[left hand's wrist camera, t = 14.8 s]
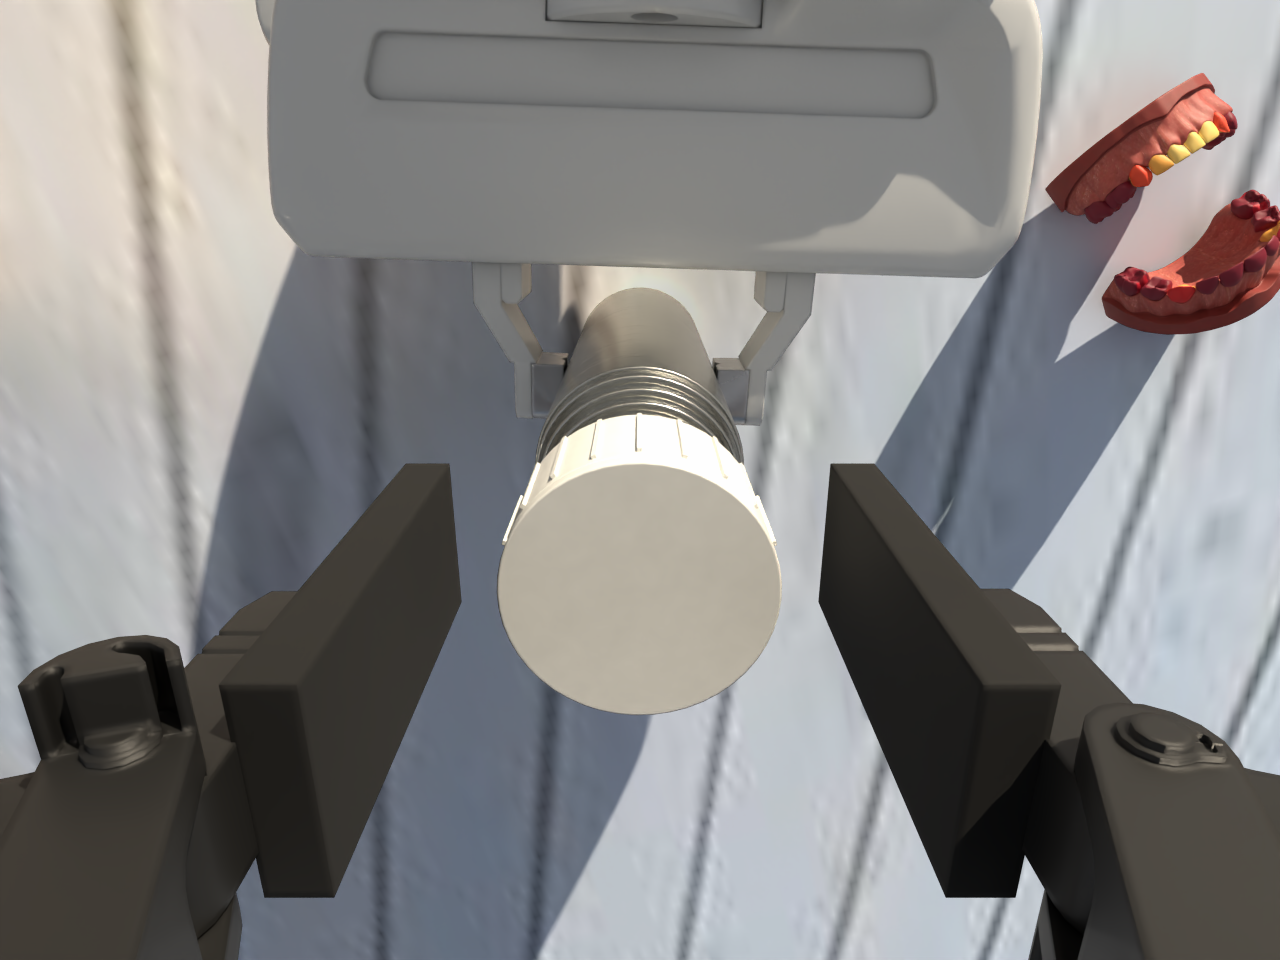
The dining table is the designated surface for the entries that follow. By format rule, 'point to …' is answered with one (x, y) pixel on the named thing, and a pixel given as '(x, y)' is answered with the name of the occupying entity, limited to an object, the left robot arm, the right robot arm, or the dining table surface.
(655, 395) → the bottle
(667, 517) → the cap
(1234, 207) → the dental model
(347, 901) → the dining table surface
